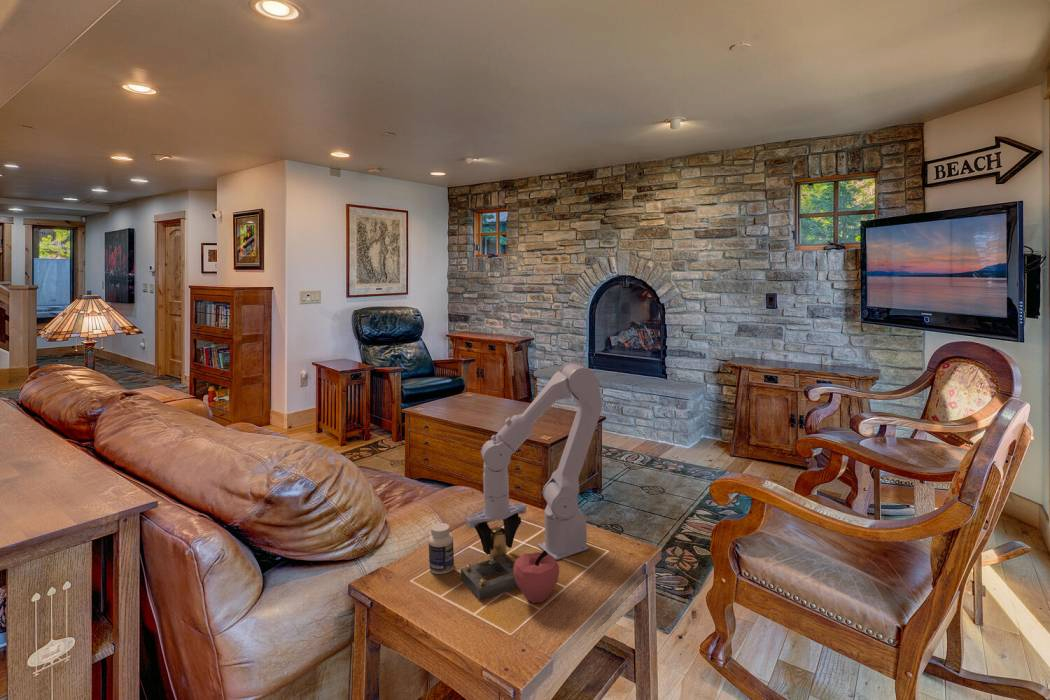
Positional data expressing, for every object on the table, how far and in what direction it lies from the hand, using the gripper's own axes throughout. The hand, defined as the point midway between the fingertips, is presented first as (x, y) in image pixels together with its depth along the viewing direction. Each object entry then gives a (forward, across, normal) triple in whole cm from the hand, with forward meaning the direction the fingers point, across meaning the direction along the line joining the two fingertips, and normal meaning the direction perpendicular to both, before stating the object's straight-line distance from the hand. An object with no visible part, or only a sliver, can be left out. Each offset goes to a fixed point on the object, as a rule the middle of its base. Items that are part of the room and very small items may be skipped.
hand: (497, 549), depth 127 cm
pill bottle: (+2, +13, -2) cm, 13 cm away
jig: (+2, +6, +9) cm, 11 cm away
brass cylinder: (+2, 0, 0) cm, 2 cm away
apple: (+2, +1, +19) cm, 19 cm away
